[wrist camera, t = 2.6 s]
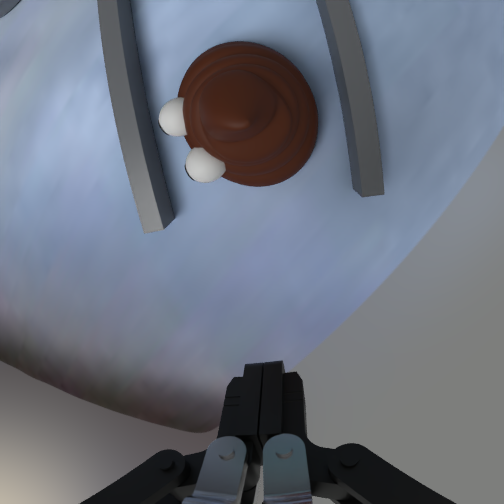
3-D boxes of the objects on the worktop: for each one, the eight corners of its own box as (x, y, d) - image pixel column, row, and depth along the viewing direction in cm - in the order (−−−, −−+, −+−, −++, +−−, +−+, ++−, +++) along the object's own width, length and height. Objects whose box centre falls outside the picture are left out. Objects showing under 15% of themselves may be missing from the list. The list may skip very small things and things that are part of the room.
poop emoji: (337, 151, 20) (382, 171, 11) (228, 205, 22) (197, 261, 13) (267, 27, 17) (261, -36, 8) (159, 87, 19) (87, 70, 10)
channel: (109, -29, 14) (78, -51, 10) (308, -77, 12) (314, -111, 7) (156, 222, 23) (129, 247, 18) (373, 186, 20) (398, 204, 16)
